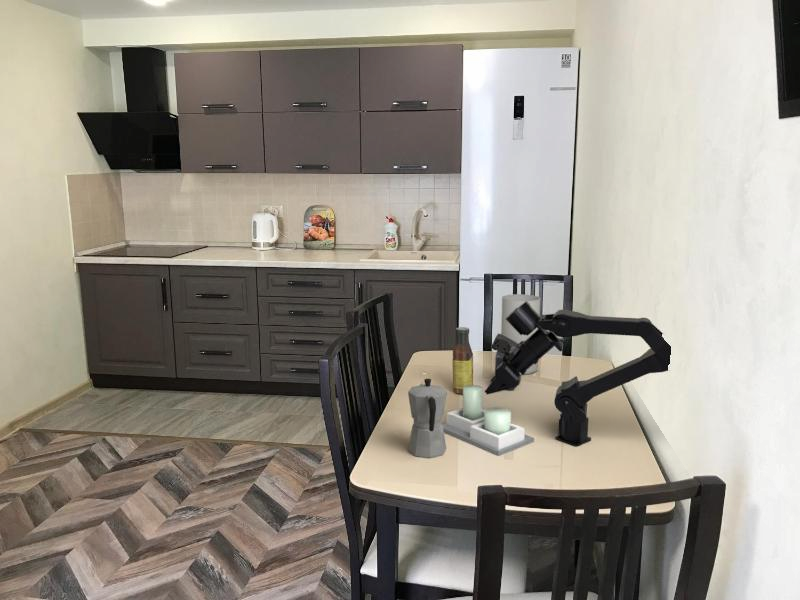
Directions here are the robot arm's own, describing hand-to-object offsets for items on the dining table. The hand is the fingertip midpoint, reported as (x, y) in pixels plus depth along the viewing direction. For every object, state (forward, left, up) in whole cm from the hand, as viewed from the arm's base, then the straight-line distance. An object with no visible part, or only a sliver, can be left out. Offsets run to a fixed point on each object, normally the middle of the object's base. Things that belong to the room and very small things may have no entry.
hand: (489, 387), depth 167 cm
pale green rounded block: (+4, +2, -11) cm, 11 cm away
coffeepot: (0, +21, -12) cm, 24 cm away
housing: (-2, +3, -12) cm, 12 cm away
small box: (+22, -32, -12) cm, 40 cm away
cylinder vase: (+30, -48, -12) cm, 58 cm away
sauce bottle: (+26, -17, -12) cm, 33 cm away
